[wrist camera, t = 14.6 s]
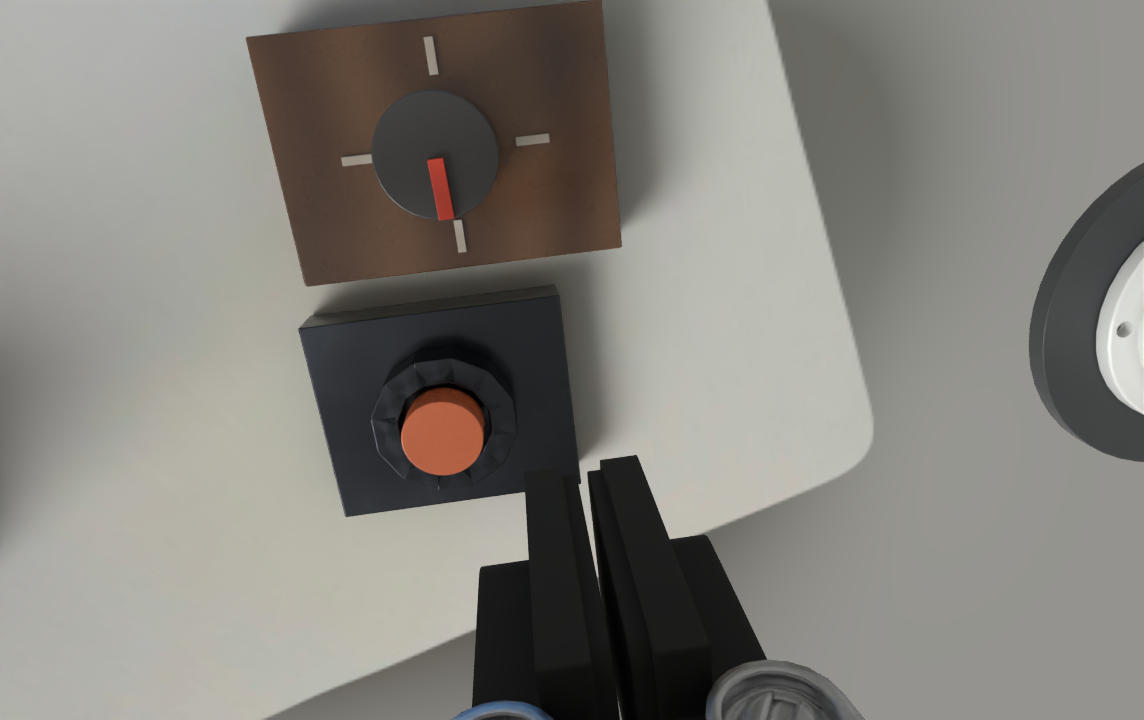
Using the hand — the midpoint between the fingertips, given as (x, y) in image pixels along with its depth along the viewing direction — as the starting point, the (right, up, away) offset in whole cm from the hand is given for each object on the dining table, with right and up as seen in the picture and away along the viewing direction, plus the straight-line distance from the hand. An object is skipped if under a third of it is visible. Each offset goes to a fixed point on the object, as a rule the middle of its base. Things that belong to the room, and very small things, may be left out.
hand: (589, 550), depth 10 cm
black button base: (-6, +1, +26) cm, 27 cm away
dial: (-5, +12, +19) cm, 23 cm away
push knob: (-6, 0, +22) cm, 23 cm away
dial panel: (-6, +13, +22) cm, 26 cm away
